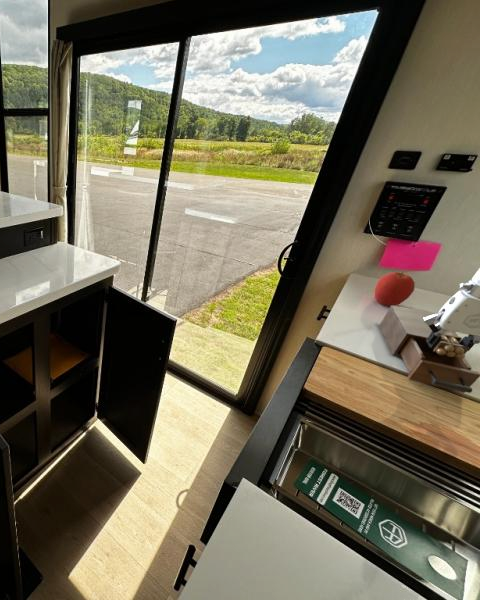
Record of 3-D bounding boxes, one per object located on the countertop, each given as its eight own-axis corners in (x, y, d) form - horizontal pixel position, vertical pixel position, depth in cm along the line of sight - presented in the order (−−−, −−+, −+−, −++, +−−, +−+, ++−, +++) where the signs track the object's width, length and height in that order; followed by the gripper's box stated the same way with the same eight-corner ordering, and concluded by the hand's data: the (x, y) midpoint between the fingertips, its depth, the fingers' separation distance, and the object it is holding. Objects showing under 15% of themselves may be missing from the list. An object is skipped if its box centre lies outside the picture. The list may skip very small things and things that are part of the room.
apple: (373, 308, 119) (392, 276, 111) (363, 295, 127) (380, 263, 119) (407, 313, 116) (429, 280, 108) (395, 299, 124) (414, 267, 116)
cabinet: (447, 367, 93) (465, 345, 88) (392, 355, 98) (406, 333, 93) (426, 335, 105) (441, 314, 101) (378, 325, 110) (391, 305, 106)
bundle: (425, 337, 91) (432, 328, 89) (451, 343, 88) (458, 333, 87) (436, 355, 85) (443, 345, 83) (464, 361, 82) (472, 351, 81)
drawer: (472, 406, 80) (490, 388, 77) (414, 391, 85) (428, 373, 81) (441, 356, 95) (454, 339, 92) (392, 346, 100) (404, 329, 96)
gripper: (447, 291, 77) (408, 347, 87) (551, 307, 70) (495, 366, 80) (435, 278, 83) (400, 332, 93) (530, 291, 76) (481, 348, 86)
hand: (444, 347), depth 86 cm, fingers closed on bundle, 5 cm apart
